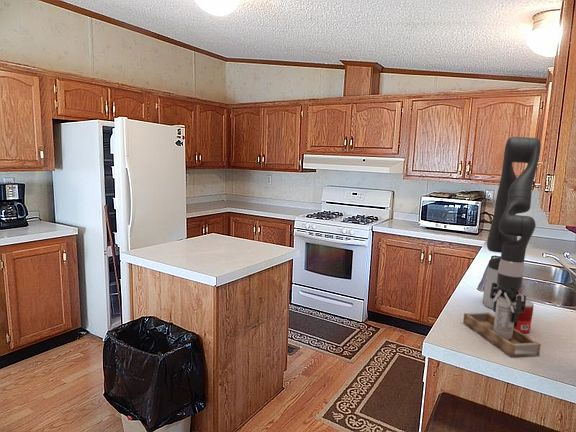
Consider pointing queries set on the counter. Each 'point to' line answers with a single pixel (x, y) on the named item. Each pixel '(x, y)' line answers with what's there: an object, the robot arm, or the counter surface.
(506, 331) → the energy drink can
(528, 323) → the canned food
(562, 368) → the counter surface
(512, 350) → the wooden tray
